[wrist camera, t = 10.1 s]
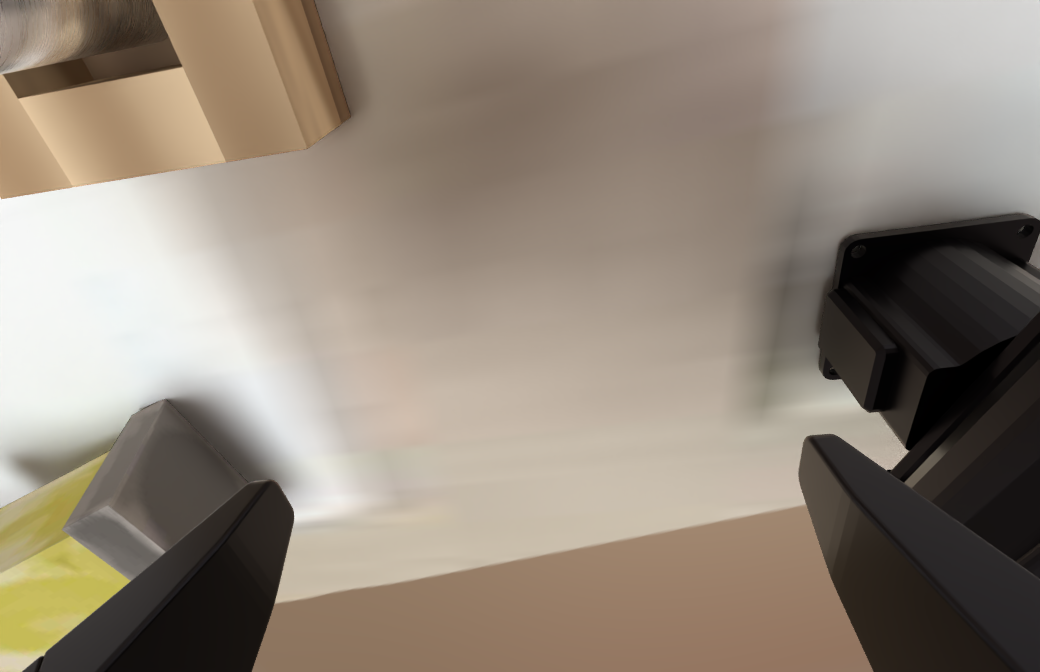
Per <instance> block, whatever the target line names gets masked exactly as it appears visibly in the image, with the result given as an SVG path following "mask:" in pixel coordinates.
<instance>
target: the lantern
mask: <svg viewBox="0 0 1040 672" xmlns="http://www.w3.org/2000/svg"><path fill="white" fill-rule="evenodd" d="M247 484H248V482H247V481H246V480H245V479H244V478H243V477H242V476H241V475H240V474H239V473H238V472H237V471H236V470H235V469H234V468H233V467H232V466H231V465H230V464H229V463H228V462H227V461H226V460H225V459H224V458H223V457H222V456H221V455H220V454H219V453H218V452H217V451H216V449H215V448H214V447H213V446H212V445H211V444H210V443H209V442H208V441H207V440H206V439H205V438H204V437H203V436H202V435H201V434H200V433H199V432H198V431H197V430H196V429H195V428H194V427H193V426H192V425H191V424H190V423H189V422H188V421H187V420H186V419H185V418H184V417H183V416H182V415H181V414H180V413H179V412H178V411H177V410H176V409H175V408H174V407H173V406H172V405H171V404H170V403H169V402H168V401H167V400H166V399H164V400H161V401H158V402H156V403H154V404H152V405H151V406H149V407H147V408H145V409H143V410H141V411H139V412H137V413H135V414H133V415H132V416H131V417H130V419H129V421H128V422H127V424H126V426H125V427H124V429H123V430H122V432H121V434H120V435H119V437H118V439H117V440H116V442H115V444H114V445H113V447H112V448H111V450H110V451H109V452H107V453H105V454H103V455H101V456H99V457H97V458H96V459H94V460H92V461H90V462H88V463H86V464H84V465H82V466H80V467H78V468H77V469H75V470H73V471H71V472H69V473H67V474H65V475H63V476H61V477H59V478H58V479H56V480H54V481H52V482H50V483H48V484H46V485H44V486H42V487H40V488H38V489H37V490H35V491H33V492H31V493H29V494H27V495H25V496H23V497H21V498H19V499H18V500H16V501H14V502H12V503H10V504H8V505H6V506H4V507H2V508H0V672H22V671H23V670H24V669H25V668H27V667H28V666H29V665H30V664H31V663H33V662H34V661H35V660H36V659H37V658H39V657H40V656H44V655H45V652H46V651H47V650H48V649H50V648H51V647H52V646H53V645H54V644H56V643H57V642H58V641H59V640H60V639H62V638H63V637H64V636H65V635H66V634H68V633H69V632H70V631H71V630H72V629H74V628H75V627H76V626H77V625H78V624H80V623H81V622H82V621H83V620H84V619H86V618H87V617H88V616H89V615H90V614H92V613H93V612H94V611H95V610H96V609H98V608H99V607H100V606H101V605H102V604H104V603H105V602H106V601H107V600H108V599H110V598H111V597H112V596H113V595H114V594H116V593H117V592H118V591H119V590H120V589H122V588H123V587H124V586H125V585H126V584H128V583H129V582H130V581H131V580H132V579H134V578H135V577H136V576H137V575H138V574H140V573H141V572H142V571H143V570H144V569H146V568H147V567H148V566H149V565H150V564H152V563H153V562H154V561H155V560H157V559H158V558H159V557H160V556H161V555H163V554H164V553H165V552H166V551H167V550H169V549H170V548H171V547H172V546H173V545H175V544H176V543H177V542H178V541H179V540H181V539H182V538H183V537H184V536H185V535H187V534H188V533H189V532H190V531H191V530H193V529H194V528H195V527H196V526H197V525H199V524H200V523H201V522H202V521H203V520H205V519H206V518H207V517H208V516H209V515H211V514H212V513H213V512H214V511H215V510H217V509H218V508H219V507H220V506H221V505H223V504H224V503H225V502H226V501H227V500H229V499H230V498H231V497H232V496H233V495H235V494H236V493H237V492H238V491H239V490H241V489H242V488H243V487H244V486H245V485H247Z"/></svg>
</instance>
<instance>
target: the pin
mask: <svg viewBox="0 0 1040 672" xmlns="http://www.w3.org/2000/svg"><path fill="white" fill-rule="evenodd" d="M168 37H169V36H168V34H167V32H166V30H165V27H164V25H163V23H162V21H161V19H160V17H159V14H158V12H157V10H156V8H155V6H154V3H153V1H152V0H0V75H1V74H6V73H11V72H16V71H21V70H26V69H31V68H36V67H41V66H46V65H51V64H55V63H60V62H65V61H70V60H75V59H80V58H85V57H90V56H95V55H100V54H105V53H110V52H115V51H120V50H124V49H129V48H134V47H139V46H144V45H149V44H154V43H158V42H161V41H163V40H165V39H167V38H168Z"/></svg>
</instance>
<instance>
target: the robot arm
mask: <svg viewBox="0 0 1040 672" xmlns="http://www.w3.org/2000/svg"><path fill="white" fill-rule="evenodd" d="M1023 226H1025V227H1024V229H1023V230H1022V231H1020V232H1019V233H1017V232H1018V230H1019V229H1020V228H1021V227H1023ZM1039 234H1040V220H1038V219H1036V218H1034V217H1032V216H1030V215H1028V214H1017V215H1009V216H1001V217H993V218H985V219H977V220H969V221H961V222H953V223H945V224H937V225H929V226H920V227H912V228H904V229H896V230H888V231H880V232H872V233H864V234H856V235H853V236H850V237H848V238H847V239H845V240H844V241H843V242H842V243H841V245H840V248H839V253H838V258H837V264H836V270H835V276H834V282H833V287H832V290H830V292H829V293H828V294H827V296H826V300H825V306H824V312H823V318H822V324H821V330H820V336H819V342H818V346H819V348H820V349H821V357H820V363H819V370H820V371H821V373H822V374H823V376H824V377H825V378H827V379H829V380H837V379H842V380H843V382H844V383H845V384H846V386H847V387H848V389H849V390H850V391H851V393H852V394H853V396H854V397H855V399H856V400H857V401H858V403H859V404H860V406H861V407H862V408H863V409H865V410H866V411H867V412H869V413H871V412H879V413H880V414H881V416H882V417H883V419H884V420H885V421H886V423H887V424H888V425H889V427H890V428H891V429H892V431H893V432H894V433H895V435H896V436H897V437H898V439H899V440H900V441H901V443H902V444H903V445H904V447H905V448H906V449H907V450H908V451H909V452H908V453H907V454H906V455H905V456H904V458H903V459H902V460H901V461H900V462H899V463H898V464H897V465H896V466H895V467H894V468H893V469H892V470H887V471H886V470H885V469H884V468H882V467H881V466H879V465H878V464H876V463H875V462H874V461H872V460H871V459H869V458H868V457H867V456H865V455H864V454H862V453H861V452H859V451H858V450H857V449H855V448H854V447H852V446H851V445H850V444H848V443H847V442H845V441H844V440H842V439H841V438H840V437H838V436H836V435H834V434H822V435H810V436H807V437H806V438H805V440H804V442H803V448H802V454H801V459H800V465H799V482H800V486H801V489H802V493H803V496H804V499H805V502H806V505H807V508H808V511H809V514H810V517H811V519H812V523H813V526H814V529H815V532H816V535H817V538H818V541H819V544H820V547H821V550H822V553H823V556H824V559H825V562H826V565H827V568H828V571H829V574H830V576H831V579H832V581H833V583H834V586H835V588H836V590H837V593H838V595H839V597H840V600H841V602H842V604H843V606H844V608H845V610H846V613H847V615H848V617H849V619H850V621H851V624H852V626H853V628H854V630H855V632H856V634H857V636H858V639H859V641H860V643H861V645H862V648H863V650H864V652H865V654H866V656H867V658H868V660H869V663H870V665H871V667H872V669H873V672H1040V269H1038V268H1036V267H1035V266H1033V265H1031V264H1030V263H1028V262H1029V260H1030V257H1031V254H1032V252H1033V249H1034V247H1035V244H1036V241H1037V239H1038V236H1039ZM859 245H861V247H860V249H859V250H858V251H857V252H855V253H851V251H852V249H853V248H855V247H856V246H859ZM832 367H833V368H834V369H831V370H830V368H832ZM293 523H294V511H293V508H292V506H291V504H290V503H289V501H288V499H287V498H286V496H285V494H284V493H283V491H282V489H281V488H280V486H279V484H278V483H277V482H276V481H274V480H258V481H252V482H250V483H248V484H247V485H245V486H244V487H243V488H242V489H241V490H239V491H238V492H237V493H236V494H235V495H233V496H232V497H231V498H230V499H229V500H227V501H226V502H225V503H224V504H223V505H221V506H220V507H219V508H218V509H217V510H215V511H214V512H213V513H212V514H211V515H209V516H208V517H207V518H206V519H205V520H203V521H202V522H201V523H200V524H199V525H197V526H196V527H195V528H194V529H193V530H191V531H190V532H189V533H188V534H187V535H185V536H184V537H183V538H182V539H181V540H179V541H178V542H177V543H176V544H175V545H173V546H172V547H171V548H170V549H169V550H167V551H166V552H165V553H164V554H163V555H161V556H160V557H159V558H158V559H157V560H155V561H154V562H153V563H152V564H150V565H149V566H148V567H147V568H146V569H144V570H143V571H142V572H141V573H140V574H138V575H137V576H136V577H135V578H134V579H132V580H131V581H130V582H129V583H128V584H126V585H125V586H124V587H123V588H122V589H120V590H119V591H118V592H117V593H116V594H114V595H113V596H112V597H111V598H110V599H108V600H107V601H106V602H105V603H104V604H102V605H101V606H100V607H99V608H98V609H96V610H95V611H94V612H93V613H92V614H90V615H89V616H88V617H87V618H86V619H84V620H83V621H82V622H81V623H80V624H78V625H77V626H76V627H75V628H74V629H72V630H71V631H70V632H69V633H68V634H66V635H65V636H64V637H63V638H62V639H60V640H59V641H58V642H57V643H56V644H54V645H53V646H52V647H51V648H50V649H48V650H47V651H46V652H45V655H44V656H40V657H39V658H37V659H36V660H35V661H34V662H33V663H31V664H30V665H29V666H28V667H27V668H25V669H24V670H23V671H22V672H252V669H253V666H254V663H255V660H256V657H257V654H258V651H259V649H260V646H261V642H262V640H263V637H264V634H265V631H266V628H267V625H268V622H269V619H270V616H271V613H272V610H273V606H274V603H275V599H276V595H277V592H278V588H279V583H280V579H281V575H282V570H283V566H284V562H285V558H286V553H287V549H288V545H289V541H290V536H291V532H292V528H293Z"/></svg>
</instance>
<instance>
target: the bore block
mask: <svg viewBox="0 0 1040 672" xmlns="http://www.w3.org/2000/svg"><path fill="white" fill-rule="evenodd" d="M152 1H153V3H154V6H155V8H156V10H157V12H158V14H159V17H160V19H161V21H162V23H163V25H164V27H165V30H166V32H167V34H168V36H169V37H168V38H167V39H165V40H163V41H161V42H158V43H154V44H149V45H144V46H139V47H134V48H129V49H124V50H120V51H115V52H110V53H105V54H100V55H95V56H90V57H85V58H80V59H75V60H70V61H65V62H60V63H55V64H51V65H46V66H41V67H36V68H31V69H26V70H21V71H16V72H11V73H6V74H1V75H0V197H1V199H5V198H11V197H17V196H23V195H29V194H35V193H42V192H48V191H54V190H60V189H66V188H72V187H78V186H84V185H90V184H96V183H102V182H109V181H115V180H121V179H127V178H133V177H139V176H145V175H151V174H157V173H163V172H169V171H175V170H182V169H188V168H194V167H200V166H206V165H212V164H218V163H224V162H230V161H236V160H242V159H249V158H255V157H261V156H267V155H273V154H279V153H285V152H291V151H297V150H303V149H308V148H309V147H311V146H312V145H313V144H315V143H316V142H317V141H319V140H320V139H322V138H323V137H324V136H326V135H327V134H328V133H330V132H331V131H333V130H334V129H335V128H337V127H338V126H339V125H341V124H342V123H343V122H345V121H346V120H348V119H349V118H350V117H351V116H350V113H349V110H348V107H347V103H346V100H345V97H344V94H343V91H342V88H341V85H340V81H339V78H338V75H337V72H336V69H335V66H334V63H333V59H332V56H331V53H330V50H329V47H328V44H327V41H326V37H325V34H324V31H323V28H322V25H321V22H320V19H319V16H318V12H317V9H316V6H315V3H314V0H152Z"/></svg>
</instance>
